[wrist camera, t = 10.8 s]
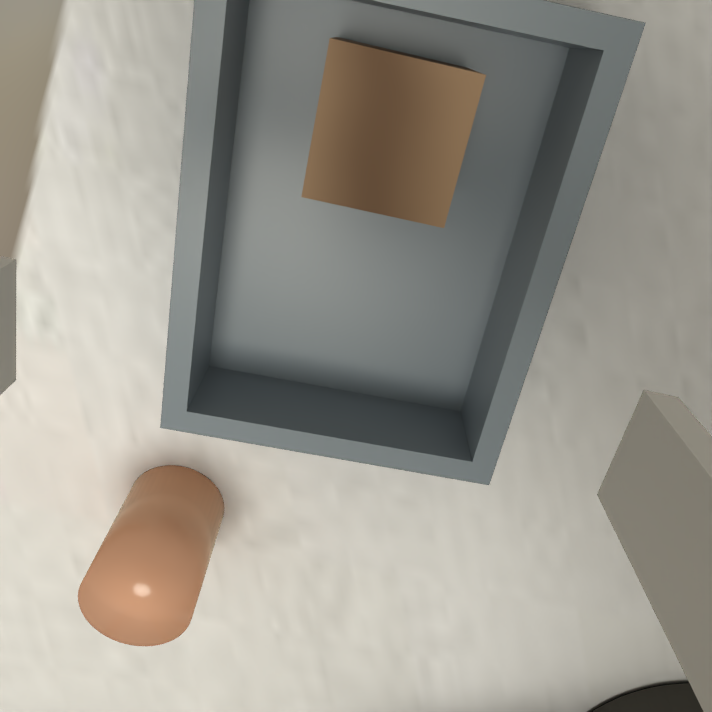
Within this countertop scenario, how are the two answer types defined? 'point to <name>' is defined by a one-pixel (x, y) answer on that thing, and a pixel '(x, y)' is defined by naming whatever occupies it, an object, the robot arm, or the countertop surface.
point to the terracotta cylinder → (154, 558)
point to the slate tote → (378, 232)
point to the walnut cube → (390, 131)
